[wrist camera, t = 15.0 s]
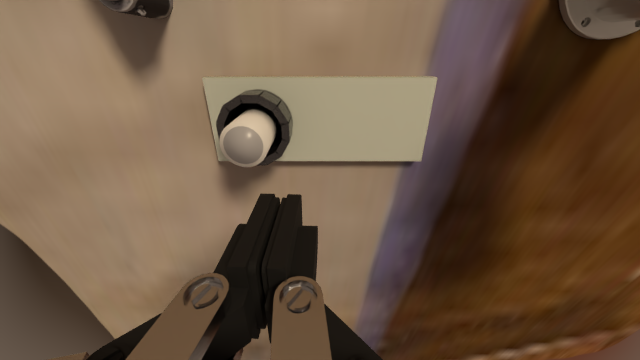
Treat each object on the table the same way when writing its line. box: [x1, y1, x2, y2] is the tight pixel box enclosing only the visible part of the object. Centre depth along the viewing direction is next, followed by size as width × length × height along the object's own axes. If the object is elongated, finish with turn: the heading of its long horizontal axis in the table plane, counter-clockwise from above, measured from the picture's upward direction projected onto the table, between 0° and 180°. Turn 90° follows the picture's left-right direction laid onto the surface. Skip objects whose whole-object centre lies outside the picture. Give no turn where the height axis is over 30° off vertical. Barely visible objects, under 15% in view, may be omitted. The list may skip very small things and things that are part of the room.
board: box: [202, 76, 437, 161], centre depth 31 cm, size 26×10×2 cm, turn 90°
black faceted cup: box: [216, 89, 293, 165], centre depth 29 cm, size 8×8×4 cm
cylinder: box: [219, 106, 279, 167], centre depth 27 cm, size 4×4×7 cm
